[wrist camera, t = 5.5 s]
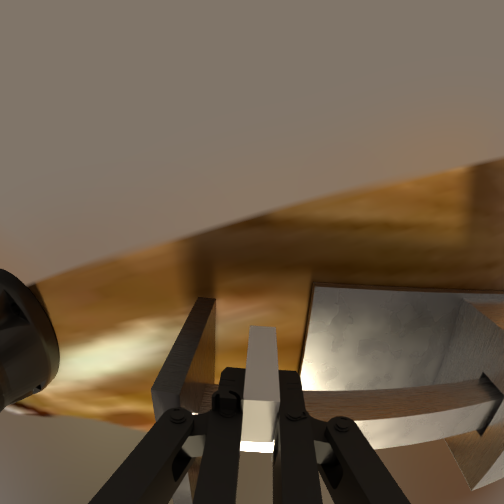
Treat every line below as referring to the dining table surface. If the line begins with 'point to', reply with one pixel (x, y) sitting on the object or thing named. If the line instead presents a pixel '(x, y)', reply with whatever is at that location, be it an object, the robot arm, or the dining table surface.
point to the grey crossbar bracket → (322, 399)
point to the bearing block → (411, 352)
